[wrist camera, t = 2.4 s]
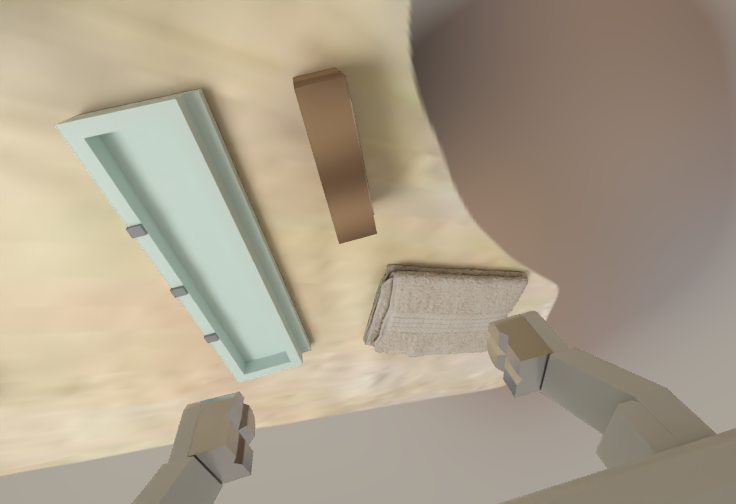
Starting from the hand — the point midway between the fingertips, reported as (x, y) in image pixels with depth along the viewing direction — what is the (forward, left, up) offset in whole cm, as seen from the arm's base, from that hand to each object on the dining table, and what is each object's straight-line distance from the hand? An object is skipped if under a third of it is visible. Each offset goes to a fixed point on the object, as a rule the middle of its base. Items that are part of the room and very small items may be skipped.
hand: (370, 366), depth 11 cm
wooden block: (-1, +1, -20) cm, 20 cm away
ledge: (+7, -10, -19) cm, 23 cm away
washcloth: (+20, +10, -20) cm, 30 cm away
